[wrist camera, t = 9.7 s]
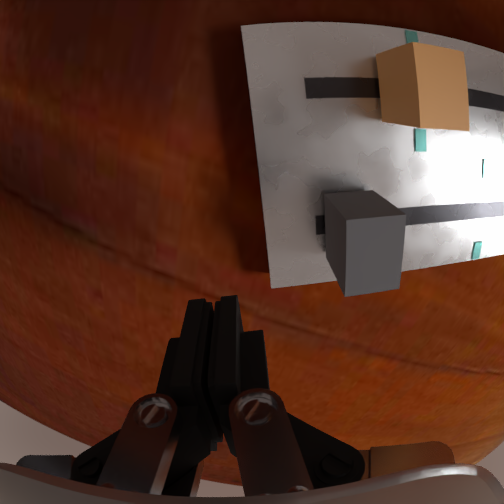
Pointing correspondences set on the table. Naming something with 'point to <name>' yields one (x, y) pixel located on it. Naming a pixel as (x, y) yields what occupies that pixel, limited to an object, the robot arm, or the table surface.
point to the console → (368, 146)
